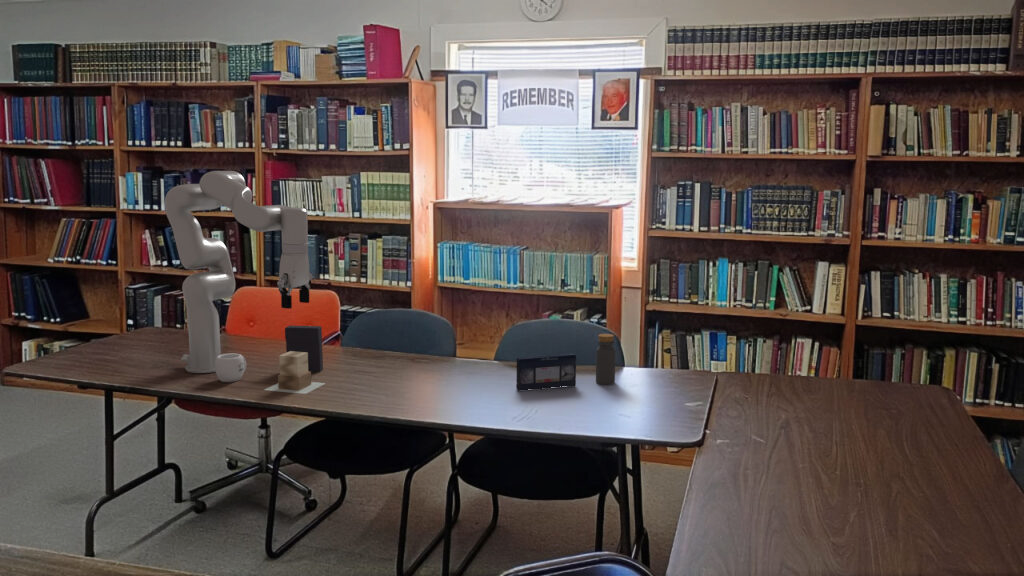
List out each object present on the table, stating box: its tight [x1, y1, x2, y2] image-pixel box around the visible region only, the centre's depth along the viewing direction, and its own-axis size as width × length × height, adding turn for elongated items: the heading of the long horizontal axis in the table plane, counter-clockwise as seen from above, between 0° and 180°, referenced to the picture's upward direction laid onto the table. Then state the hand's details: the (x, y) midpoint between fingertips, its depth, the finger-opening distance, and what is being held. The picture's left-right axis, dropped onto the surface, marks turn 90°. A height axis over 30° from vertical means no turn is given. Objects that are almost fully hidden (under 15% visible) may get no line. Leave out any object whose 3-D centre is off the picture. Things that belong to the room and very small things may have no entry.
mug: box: [215, 352, 247, 383], centre depth 267 cm, size 12×8×8 cm
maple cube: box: [278, 351, 308, 377], centre depth 256 cm, size 6×6×6 cm
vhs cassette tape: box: [515, 353, 577, 391], centre depth 258 cm, size 18×3×10 cm, turn 105°
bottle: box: [595, 333, 616, 386], centre depth 264 cm, size 6×6×15 cm
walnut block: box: [277, 371, 312, 391], centre depth 257 cm, size 7×7×4 cm
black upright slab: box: [284, 325, 324, 373], centre depth 275 cm, size 11×4×15 cm, turn 84°
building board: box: [263, 381, 326, 395], centre depth 257 cm, size 14×12×1 cm
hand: (295, 305), depth 258 cm, fingers open, 9 cm apart
